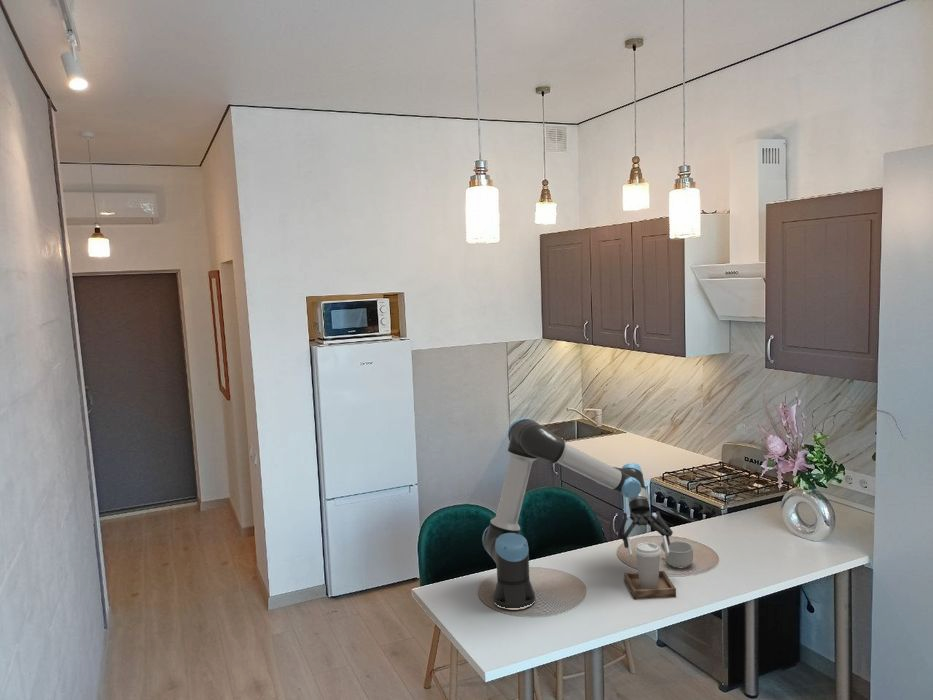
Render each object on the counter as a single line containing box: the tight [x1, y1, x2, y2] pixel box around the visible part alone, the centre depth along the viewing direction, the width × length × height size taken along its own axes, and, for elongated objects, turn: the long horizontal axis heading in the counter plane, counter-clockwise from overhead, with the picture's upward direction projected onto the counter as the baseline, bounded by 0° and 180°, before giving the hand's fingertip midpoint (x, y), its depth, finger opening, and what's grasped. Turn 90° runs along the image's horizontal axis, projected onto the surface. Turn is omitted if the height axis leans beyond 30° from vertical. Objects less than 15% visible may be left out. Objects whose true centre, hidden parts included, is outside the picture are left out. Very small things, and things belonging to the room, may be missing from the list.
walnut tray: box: [623, 570, 677, 600], centre depth 254 cm, size 15×15×3 cm
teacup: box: [660, 540, 694, 568], centre depth 274 cm, size 14×11×8 cm
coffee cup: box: [634, 541, 662, 589], centre depth 254 cm, size 10×10×15 cm
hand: (649, 554), depth 254 cm, fingers open, 13 cm apart
